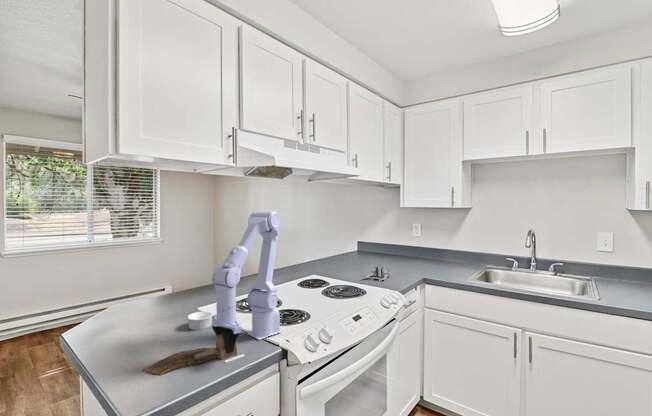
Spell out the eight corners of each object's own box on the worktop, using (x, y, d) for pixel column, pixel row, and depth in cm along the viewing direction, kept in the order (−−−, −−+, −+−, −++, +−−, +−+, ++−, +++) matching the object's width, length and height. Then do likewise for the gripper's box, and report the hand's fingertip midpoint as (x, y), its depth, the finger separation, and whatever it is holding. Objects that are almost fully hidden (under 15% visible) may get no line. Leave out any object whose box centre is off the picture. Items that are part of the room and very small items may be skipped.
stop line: (242, 354, 97) (242, 354, 97) (244, 356, 96) (244, 355, 96) (224, 361, 92) (224, 360, 92) (226, 363, 92) (226, 362, 92)
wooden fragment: (144, 380, 83) (144, 376, 83) (140, 364, 92) (139, 360, 92) (239, 354, 98) (239, 350, 98) (227, 342, 107) (227, 339, 107)
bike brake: (373, 273, 210) (360, 284, 193) (372, 263, 209) (360, 273, 192) (392, 276, 203) (381, 287, 186) (392, 266, 202) (381, 276, 185)
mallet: (230, 349, 100) (230, 331, 100) (236, 354, 97) (236, 334, 97) (192, 362, 92) (192, 342, 92) (198, 367, 89) (198, 346, 89)
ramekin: (216, 326, 120) (216, 315, 120) (192, 333, 114) (192, 321, 113) (207, 320, 126) (207, 309, 126) (184, 326, 120) (184, 315, 120)
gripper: (203, 303, 99) (203, 346, 99) (224, 315, 89) (225, 362, 89) (224, 299, 104) (224, 339, 104) (247, 309, 94) (247, 354, 94)
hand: (226, 349), depth 97 cm, fingers closed on mallet, 4 cm apart
